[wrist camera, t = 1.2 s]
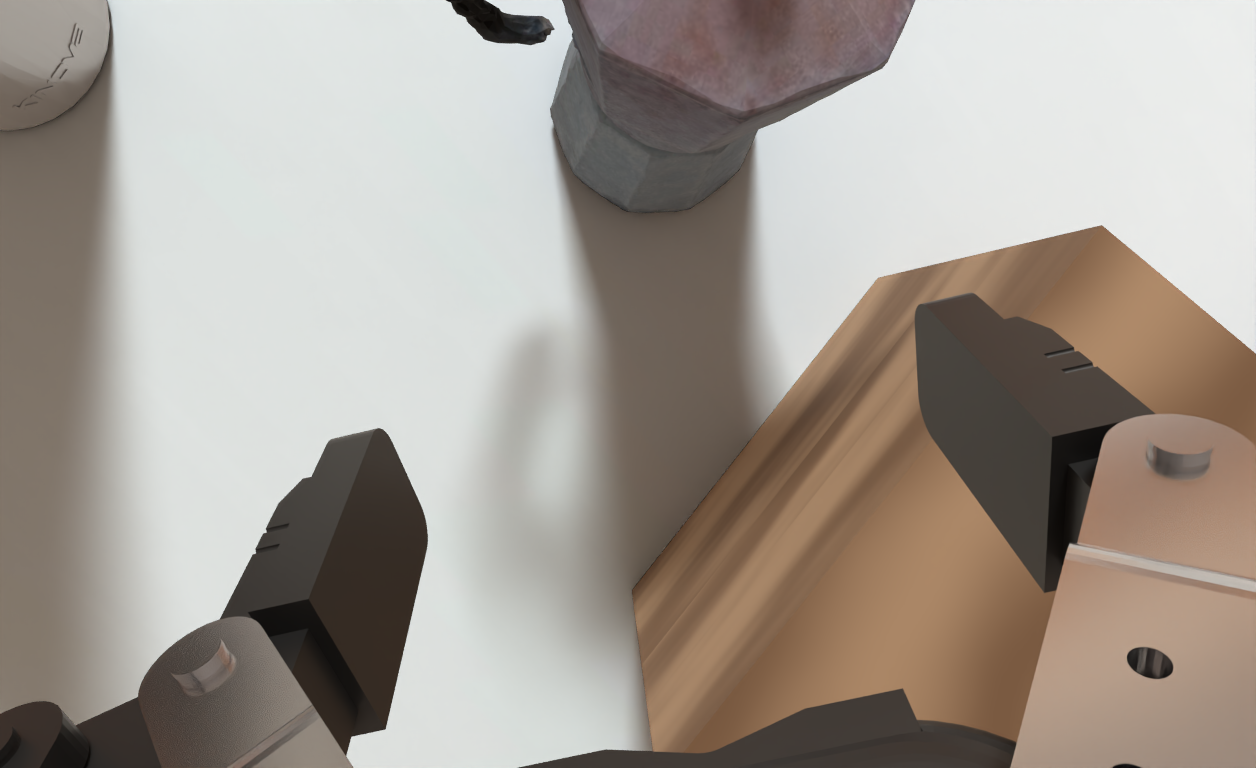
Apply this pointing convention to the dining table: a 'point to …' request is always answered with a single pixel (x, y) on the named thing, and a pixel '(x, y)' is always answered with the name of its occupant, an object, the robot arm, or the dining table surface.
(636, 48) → the moka pot
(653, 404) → the dining table surface
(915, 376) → the press housing
